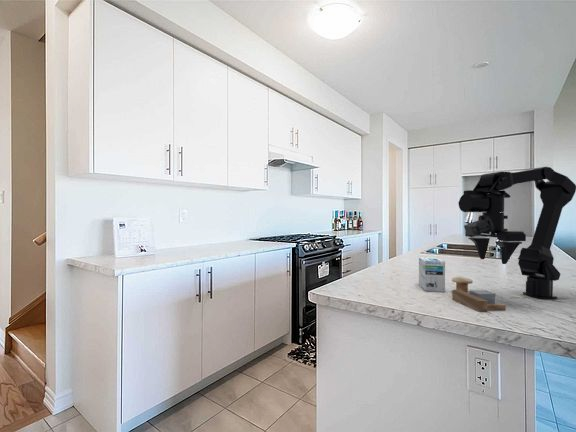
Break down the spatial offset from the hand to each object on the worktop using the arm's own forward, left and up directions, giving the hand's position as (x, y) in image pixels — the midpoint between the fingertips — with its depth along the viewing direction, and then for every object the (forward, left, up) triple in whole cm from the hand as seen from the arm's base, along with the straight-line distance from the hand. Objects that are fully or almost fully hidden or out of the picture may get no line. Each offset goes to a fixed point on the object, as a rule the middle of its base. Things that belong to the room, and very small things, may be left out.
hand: (492, 261), depth 97 cm
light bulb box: (+12, -15, -12) cm, 23 cm away
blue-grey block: (+8, +6, -12) cm, 15 cm away
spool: (+6, -6, -12) cm, 15 cm away
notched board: (+9, +6, -12) cm, 16 cm away
